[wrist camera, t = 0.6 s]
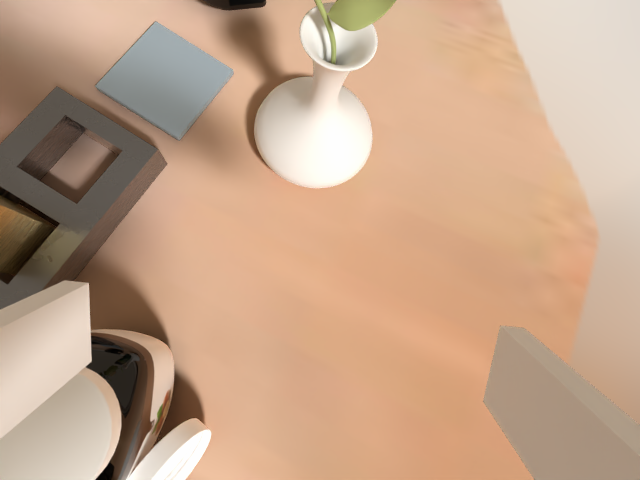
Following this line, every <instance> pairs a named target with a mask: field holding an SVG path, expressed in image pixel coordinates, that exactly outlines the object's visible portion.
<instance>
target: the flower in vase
mask: <svg viewBox="0 0 640 480" xmlns="http://www.w3.org/2000/svg"><path fill="white" fill-rule="evenodd" d="M314 1H315V3H316V5H317V6H316V7H314V8H313V9H311V10H310V11H309V12H308V13H307V14H306V15H305V16H304V18H303V20H302V22H301V25H300V39H301V43H302V45H303V48H304V49H305V51H306V53H307V54H308V55H309V56H310V58H311V59H312V60H313V77H299V78H295V79H291V80H288V81H286V82H284V83H282V84H280V85H279V86H277V87H276V88H274V89H273V90H272V91H271V92H270V93H269V94H268V96H267V97H266V98H265V99H264V101H263V102H262V104H261V105H260V107H259V109H258V112H257V114H256V118H255V123H254V137H255V141H256V145H257V148H258V151H259V153H260V155H261V156H262V158H263V160H264V161H265V162H266V164H267V165H268V166H269V167H270V168H271V169H272V170H273V171H274V172H275V173H276V174H277V175H279V176H280V177H282V178H283V179H285V180H287V181H289V182H291V183H293V184H296V185H299V186H303V187H308V188H327V187H332V186H336V185H339V184H341V183H343V182H346V181H347V180H349V179H350V178H352V177H353V176H354V175H356V174H357V173H358V172H359V171H360V170H361V168H362V167H363V166H364V164H365V163H366V161H367V159H368V157H369V154H370V151H371V147H372V128H371V122H370V119H369V116H368V113H367V111H366V109H365V107H364V106H363V104H362V103H361V101H360V100H359V99H358V98H357V97H356V96H355V95H354V94H353V93H352V92H351V91H350V90H349V89H347V88H346V87H344V86H343V85H342V84H343V82H344V80H345V78H346V77H347V75H348V74H349V73H350V71H353V70H357V69H359V68H361V67H363V66H364V65H366V64H367V63H368V62H369V61H370V60H371V59H372V58H373V56H374V54H375V52H376V49H377V44H378V39H377V34H376V30H375V28H374V26H373V24H372V23H374V22H375V21H377V20H378V19H379V18H381V17H382V16H383V15H384V14H385V13H386V12H387V11H388V10H389V9H390V8H391V6H392V5H393V4H394V3H395V1H396V0H337V1H336V2H335V3H324V4H322V2H321V0H314Z"/></svg>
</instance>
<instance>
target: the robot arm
mask: <svg viewBox="0 0 640 480" xmlns="http://www.w3.org/2000/svg"><path fill="white" fill-rule="evenodd" d="M91 361H92V357H91V328H90V299H89V283H85V282H75V281H66V280H65V281H62V282H60V283H58V284H56V285H54V286H51V287H49V288H47V289H45V290H42V291H40V292H38V293H36V294H34V295H31V296H29V297H27V298H25V299H23V300H20V301H18V302H16V303H14V304H12V305H9V306H7V307H5V308H3V309H1V310H0V439H1V438H2V437H3V436H5V435H6V434H7V433H8V432H9V431H10V430H12V429H13V428H14V427H15V426H16V425H17V424H19V423H20V422H21V421H22V420H23V419H25V418H26V417H27V416H28V415H29V414H30V413H32V412H33V411H34V410H35V409H36V408H37V407H39V406H40V405H41V404H42V403H43V402H45V401H46V400H47V399H48V398H49V397H50V396H52V395H53V394H54V393H55V392H56V391H57V390H59V389H60V388H61V387H62V386H63V385H64V384H66V383H67V382H68V381H69V380H70V379H72V378H73V377H74V376H75V375H76V374H77V373H79V372H80V371H81V370H82V369H83V368H84V367H86V366H87V365H88V364H89V363H90V362H91ZM483 402H484V404H485V405H486V407H487V408H488V410H489V411H490V413H491V414H492V416H493V417H494V419H495V420H496V422H497V423H498V425H499V426H500V428H501V429H502V431H503V432H504V434H505V436H506V437H507V439H508V440H509V442H510V443H511V445H512V446H513V448H514V449H515V451H516V452H517V454H518V455H519V457H520V458H521V460H522V461H523V463H524V464H525V466H526V468H527V469H528V471H529V472H530V474H531V475H532V477H533V478H534V480H640V425H639V424H638V423H637V422H636V421H635V420H633V419H632V418H631V417H630V416H629V415H627V414H626V413H625V412H624V411H623V410H621V409H620V408H619V407H618V406H617V405H615V404H614V403H613V402H612V401H611V400H610V399H608V398H607V397H606V396H605V395H604V394H602V393H601V392H600V391H599V390H597V389H596V388H595V387H594V386H593V385H592V384H590V383H589V382H588V381H587V380H586V379H584V378H583V377H582V376H581V375H580V374H578V373H577V372H576V371H575V370H574V369H573V368H571V367H570V366H569V365H568V364H567V363H565V362H564V361H563V360H562V359H561V358H559V357H558V356H557V355H556V354H555V353H553V352H552V351H551V350H550V349H549V348H547V347H546V346H545V345H544V344H543V343H542V342H540V341H539V340H538V339H537V338H536V337H534V336H533V335H532V334H531V333H530V332H528V331H527V330H526V329H525V328H520V327H511V326H501V325H500V329H499V333H498V338H497V342H496V347H495V351H494V355H493V360H492V364H491V369H490V373H489V377H488V382H487V386H486V391H485V395H484V400H483Z"/></svg>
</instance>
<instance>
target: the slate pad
mask: <svg viewBox="0 0 640 480" xmlns="http://www.w3.org/2000/svg"><path fill="white" fill-rule="evenodd" d="M233 74H234V73H233V70H232V69H231V68H229V67H228V66H226V65H225V64H223V63H221V62H220V61H218V60H217V59H215V58H213V57H212V56H210V55H209V54H207V53H205V52H204V51H202V50H201V49H199V48H197V47H196V46H194V45H193V44H191V43H189V42H188V41H186V40H185V39H183V38H182V37H180V36H178V35H177V34H175V33H174V32H172V31H170V30H169V29H167V28H166V27H164V26H162V25H161V24H159V23H158V22H155V23H154V24H153V25H152V26H151V27H150V28H149V29H148V30H147V31H146V32H145V33H144V34H143V35H142V37H141V38H140V39H139V40H138V41H137V42H136V43H135V44H134V45H133V46H132V47H131V48H130V49H129V50H128V51H127V52H126V54H125V55H124V56H123V57H122V58H121V59H120V60H119V61H118V62H117V63H116V64H115V65H114V66H113V67H112V68H111V69H110V71H109V72H108V73H107V74H106V75H105V76H104V77H103V78H102V79H101V80H100V81H99V82H98V83H97V84H96V85H95V87H96V88H97V90H99V91H100V92H102V93H103V94H105V95H107V96H108V97H110V98H111V99H113V100H115V101H116V102H118V103H119V104H121V105H123V106H124V107H126V108H127V109H129V110H131V111H132V112H134V113H135V114H137V115H139V116H140V117H142V118H143V119H145V120H147V121H148V122H150V123H151V124H153V125H155V126H156V127H158V128H159V129H161V130H163V131H164V132H166V133H167V134H169V135H171V136H172V137H174V138H175V139H177V140H179V141H180V139H181V138H182V137H183V136H184V134H185V133H186V132H187V131H188V129H189V128H190V127H191V126H192V125H193V123H194V122H195V121H196V120H197V118H198V117H199V116H200V115H201V113H202V112H203V111H204V110H205V109H206V107H207V106H208V105H209V104H210V102H211V101H212V100H213V99H214V97H215V96H216V95H217V94H218V92H219V91H220V90H221V89H222V88H223V86H224V85H225V84H226V83H227V81H228V80H229V79H230V78H231V76H232V75H233Z"/></svg>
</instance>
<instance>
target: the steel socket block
mask: <svg viewBox="0 0 640 480" xmlns="http://www.w3.org/2000/svg"><path fill="white" fill-rule="evenodd" d="M82 133H84V134H86V135H87V136H89V137H90V138H92V139H94V140H95V141H97V142H98V143H100V144H102V145H103V146H105V147H106V148H108V149H110V150H111V151H113V152H114V153H116V154H118V155H119V156H118V157H117V158H116V159H115V160H114V161H113V163H112V164H111V165H110V166H109V167H108V168H107V170H106V171H105V172H104V173H103V174H102V175H101V177H100V178H99V179H98V180H97V181H96V182H95V184H94V185H93V186H92V187H91V188H90V189H89V191H88V192H87V193H86V194H85V195H84V196H83V198H82V199H81V200H80V201H79V202H78V203H77V204H76V203H75V202H73V201H71V200H70V199H68V198H67V197H65V196H63V195H62V194H60V193H59V192H57V191H55V190H54V189H52V188H50V187H49V186H47V185H46V184H44V183H42V182H41V181H40V180H41V178H42V177H43V176H44V175H45V174H46V173H47V172H48V171H49V170H50V169H51V167H52V166H53V165H54V164H55V163H56V162H57V161H58V160H59V159H60V158H61V156H62V155H63V154H64V153H65V152H66V151H67V150H68V149H69V148H70V147H71V145H72V144H73V143H74V142H75V141H76V140H77V139H78V138H79V137H80V136H81V135H82ZM166 165H167V163H166V161H165V160H164V158H163V156H162V155H161V153H160V152H159V150H158V149H157V148H155V147H153V146H152V145H150V144H149V143H147V142H145V141H144V140H142V139H141V138H139V137H137V136H136V135H134V134H133V133H131V132H129V131H128V130H126V129H125V128H123V127H121V126H120V125H118V124H117V123H115V122H113V121H112V120H110V119H109V118H107V117H105V116H104V115H102V114H101V113H99V112H97V111H96V110H94V109H93V108H91V107H89V106H88V105H86V104H85V103H83V102H81V101H80V100H78V99H77V98H75V97H73V96H72V95H70V94H69V93H67V92H65V91H64V90H62V89H61V88H59V87H56V88H55V89H54V90H53V91H52V92H51V93H50V94H49V95H48V96H47V97H46V98H45V99H44V100H43V101H42V102H41V103H40V104H39V105H38V106H37V107H36V108H35V109H34V110H33V111H32V112H31V113H30V114H29V115H28V116H27V117H26V118H25V119H24V120H23V121H22V122H21V123H20V125H19V126H18V127H17V128H16V129H15V130H14V131H13V132H12V133H11V134H10V135H9V136H8V137H7V138H6V139H5V140H4V141H3V142H2V143H1V144H0V196H2V197H4V198H6V199H8V200H10V201H13V202H15V203H17V204H19V203H20V202H21V200H23V201H25V202H26V203H28V204H30V205H31V206H33V207H34V208H36V209H38V210H39V211H41V212H43V213H44V214H46V215H47V216H49V217H51V218H52V219H54V220H55V221H57V222H59V223H60V224H59V226H58V227H57V228H56V229H55V230H54V231H53V233H52V234H51V235H50V236H49V237H48V238H47V240H46V241H45V242H44V243H43V244H42V245H41V247H40V248H39V249H38V250H37V251H36V252H35V254H34V255H33V256H32V257H31V258H30V259H29V261H28V262H27V263H26V264H25V265H24V266H23V267H22V269H21V270H20V271H19V272H18V273H17V274H16V276H15V277H14V276H13V275H11V274H7V273H1V272H0V310H1V309H3V308H5V307H7V306H9V305H12V304H14V303H16V302H18V301H20V300H23V299H25V298H27V297H29V296H31V295H34V294H36V293H38V292H40V291H42V290H45V289H47V288H49V287H51V286H54V285H56V284H58V283H60V282H62V281H65V280H66V281H73V280H74V279H75V278H76V277H77V275H78V274H79V273H80V272H81V271H82V269H83V268H84V267H85V266H86V264H87V263H88V262H89V261H90V259H91V258H92V257H93V256H94V254H95V253H96V252H97V251H98V249H99V248H100V247H101V246H102V244H103V243H104V242H105V241H106V239H107V238H108V237H109V236H110V235H111V233H112V232H113V231H114V230H115V228H116V227H117V226H118V225H119V223H120V222H121V221H122V220H123V218H124V217H125V216H126V215H127V213H128V212H129V211H130V210H131V208H132V207H133V206H134V205H135V204H136V202H137V201H138V200H139V199H140V197H141V196H142V195H143V194H144V192H145V191H146V190H147V189H148V187H149V186H150V185H151V184H152V182H153V181H154V180H155V179H156V177H157V176H158V175H159V174H160V172H161V171H162V170H163V169H164V168H165V166H166Z"/></svg>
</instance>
